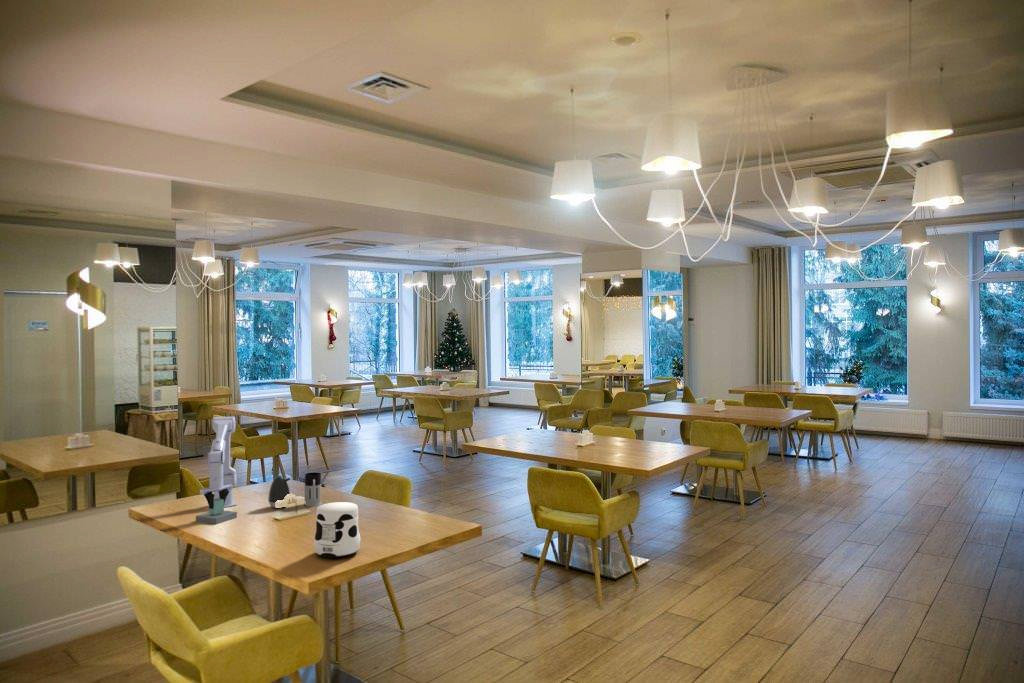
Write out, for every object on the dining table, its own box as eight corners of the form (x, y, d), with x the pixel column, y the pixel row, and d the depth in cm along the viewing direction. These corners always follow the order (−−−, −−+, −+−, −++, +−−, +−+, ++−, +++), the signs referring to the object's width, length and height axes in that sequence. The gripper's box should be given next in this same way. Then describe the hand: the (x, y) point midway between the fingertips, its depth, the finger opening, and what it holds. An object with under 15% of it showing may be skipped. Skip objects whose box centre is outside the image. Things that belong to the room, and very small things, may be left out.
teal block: (208, 513, 309) (209, 499, 309) (218, 511, 312) (218, 498, 312) (214, 514, 306) (214, 501, 306) (223, 512, 310) (223, 499, 310)
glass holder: (321, 501, 342) (321, 471, 342) (323, 508, 329) (323, 477, 329) (303, 502, 339) (303, 472, 339) (304, 509, 326) (304, 478, 326)
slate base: (195, 521, 306) (195, 515, 306) (216, 514, 317) (216, 509, 317) (216, 524, 301) (216, 518, 301) (236, 517, 312) (236, 511, 312)
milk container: (353, 544, 273) (353, 499, 273) (366, 557, 258) (366, 509, 258) (309, 550, 265) (309, 504, 265) (319, 564, 250) (319, 515, 249)
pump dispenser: (286, 510, 325) (286, 478, 325) (265, 510, 326) (264, 478, 325) (294, 504, 336) (293, 473, 335) (272, 504, 336) (272, 473, 336)
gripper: (205, 481, 301) (205, 512, 301) (236, 475, 312) (236, 505, 312) (197, 479, 305) (197, 509, 305) (227, 473, 316) (227, 503, 317)
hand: (216, 507), depth 309 cm, fingers closed on teal block, 4 cm apart
